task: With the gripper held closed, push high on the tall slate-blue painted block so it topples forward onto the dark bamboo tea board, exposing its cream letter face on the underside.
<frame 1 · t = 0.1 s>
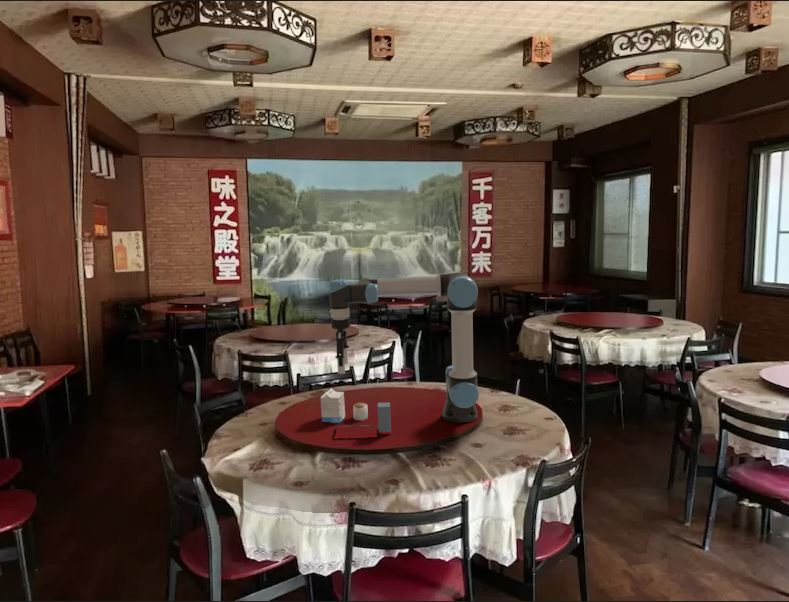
hand: (343, 368, 243), 28 cm above the table, fingers open, 13 cm apart
white ceramic teacup: (360, 417, 264), on the table
ink box: (333, 420, 263), on the table
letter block: (384, 431, 247), on the table
tea board: (356, 432, 247), on the table
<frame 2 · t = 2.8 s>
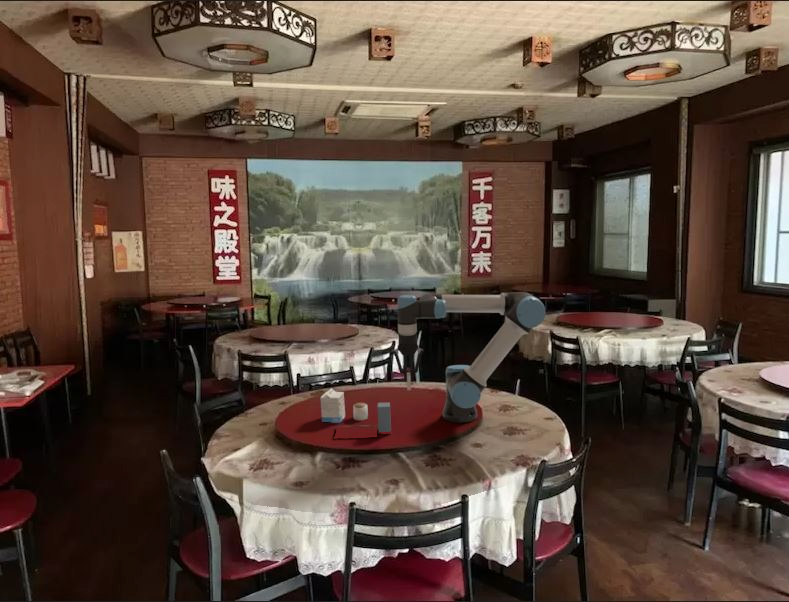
hand: (409, 388, 244), 18 cm above the table, fingers closed
nothing on the table moved.
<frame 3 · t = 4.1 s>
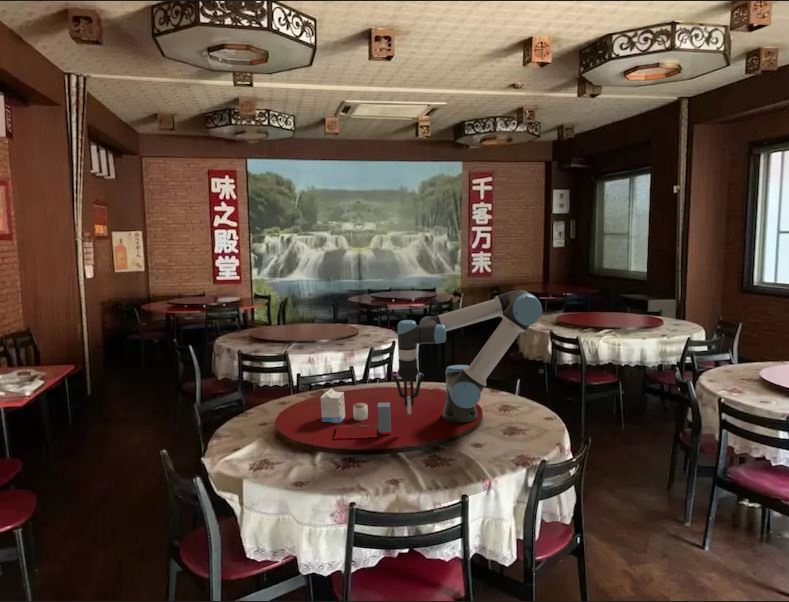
hand: (409, 412, 246), 8 cm above the table, fingers closed
nothing on the table moved.
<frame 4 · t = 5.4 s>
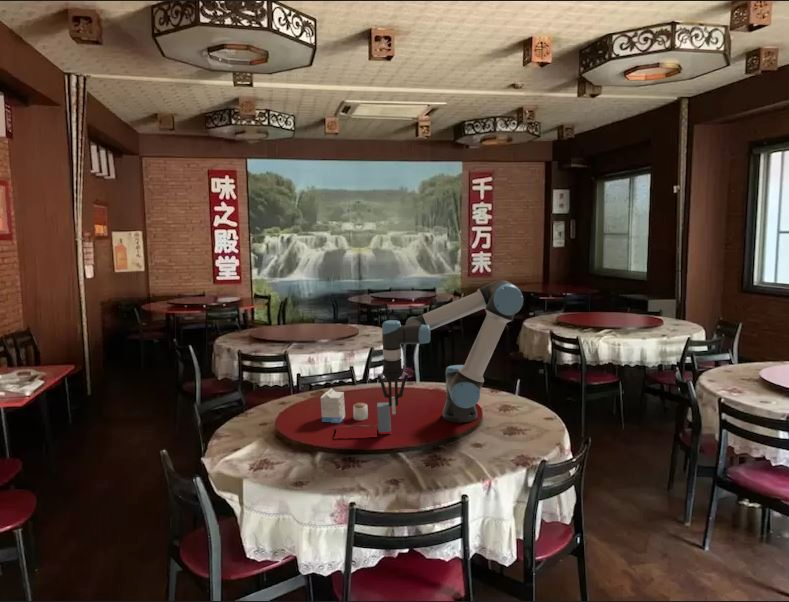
hand: (393, 413, 246), 8 cm above the table, fingers closed
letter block: (384, 431, 247), on the table, touching gripper
everything else where it was.
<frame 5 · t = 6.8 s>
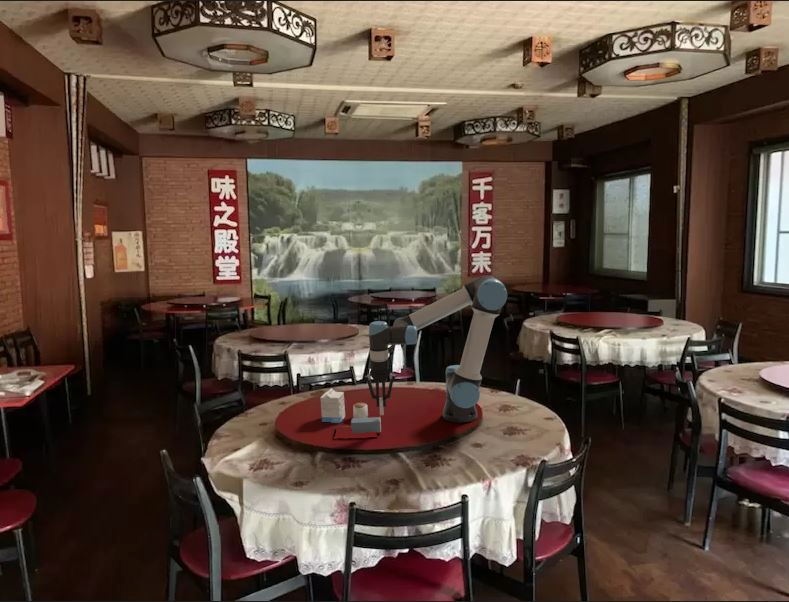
hand: (381, 414, 246), 8 cm above the table, fingers closed
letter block: (380, 425, 246), point 3 cm above the table, tilted 90°, touching tea board
everything else where it was.
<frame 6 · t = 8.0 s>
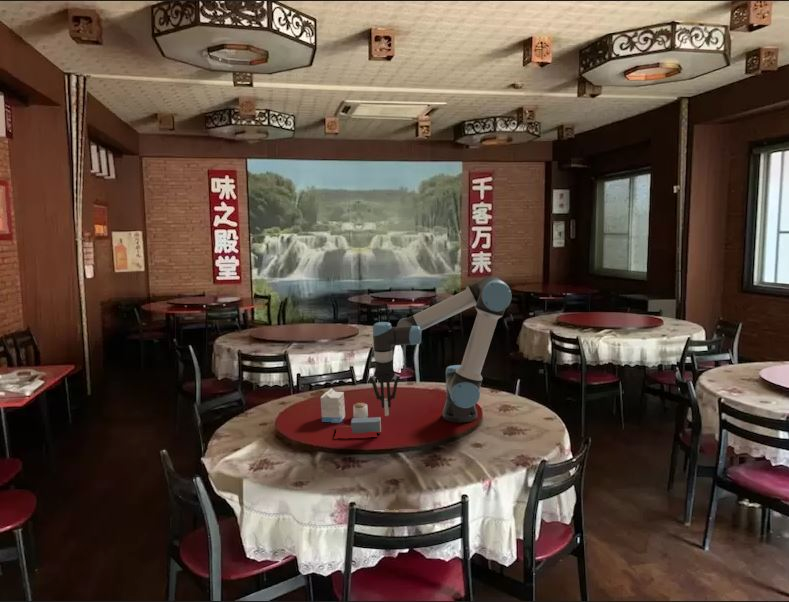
hand: (386, 414, 246), 8 cm above the table, fingers closed
nothing on the table moved.
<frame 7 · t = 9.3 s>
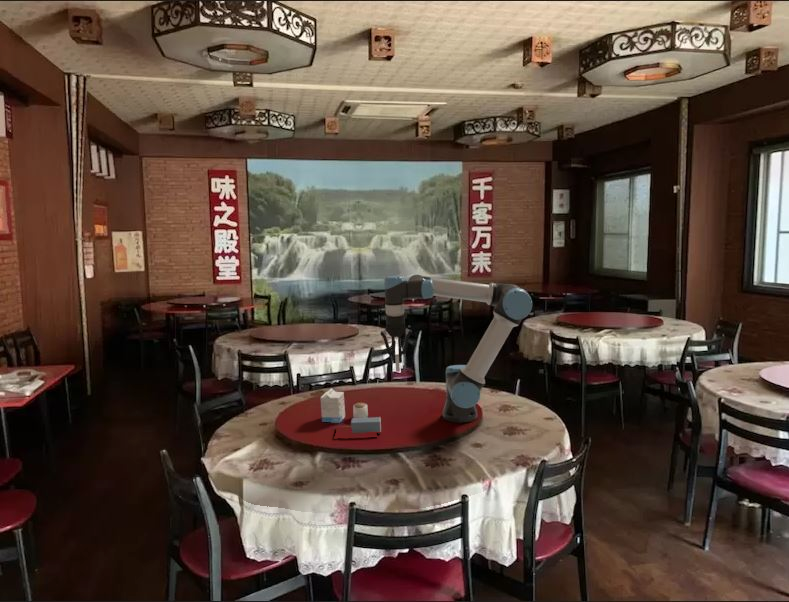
hand: (397, 370, 242), 26 cm above the table, fingers closed
nothing on the table moved.
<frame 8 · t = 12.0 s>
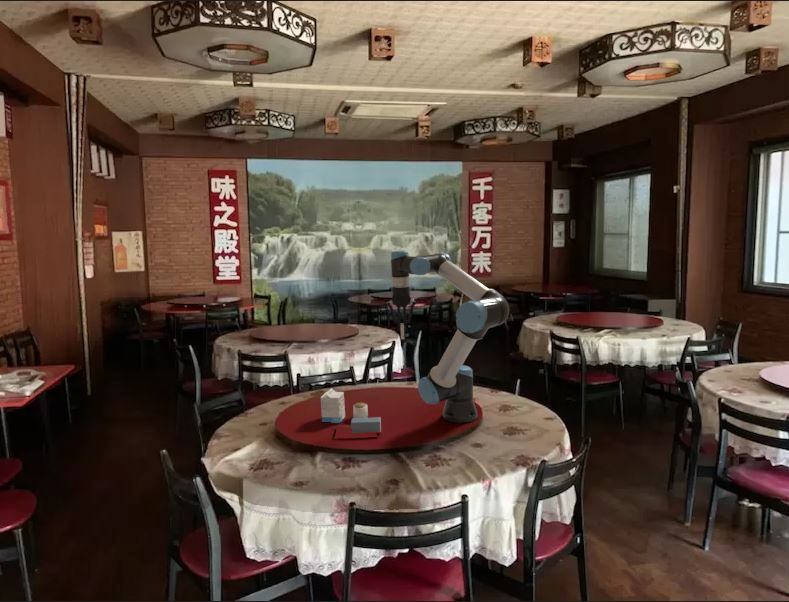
hand: (402, 338, 262), 34 cm above the table, fingers closed
nothing on the table moved.
at the end: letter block tilted 90°; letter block inside the target area (10.3 cm from its centre), point 3.1 cm above the table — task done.
